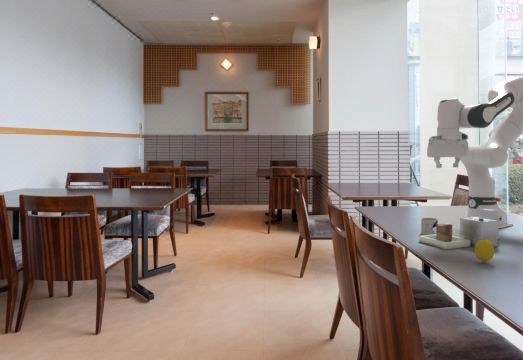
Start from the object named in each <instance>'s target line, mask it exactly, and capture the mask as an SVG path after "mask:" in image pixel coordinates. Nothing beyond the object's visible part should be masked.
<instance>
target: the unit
mask: <svg viewBox="0 0 523 360" xmlns="http://www.w3.org/2000/svg"><path fill="white" fill-rule="evenodd" d="M459 238H463V239H467V240H470V247H472V248H475V246H476V244H477V242H478V241H480V240H483V239H486V240H488V241H490V242H491V243H492V245H493V247H494V248H500V245H499V244H497V243H498V242H497V241H498V239H497V220H491V219H486V218H480V217H466V216H465V217H460V218H459Z"/></svg>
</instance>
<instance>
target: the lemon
mask: <svg viewBox="0 0 523 360" xmlns="http://www.w3.org/2000/svg"><path fill="white" fill-rule="evenodd" d="M494 248H495V247H493V245H492V243H491V242H490V241H488V240H486V239H483V240H480V241H478V242H477V244H476V246H475V247H474V254H475V257H476V258H477V260H480V261H481V262H482V263H483V264H485V263H486V262H489V261H490V260H492V259H493V257H494V255H495V249H494Z"/></svg>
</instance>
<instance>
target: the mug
mask: <svg viewBox="0 0 523 360" xmlns="http://www.w3.org/2000/svg"><path fill="white" fill-rule="evenodd" d="M438 222H439V220H438V218H435V217H421V225H420V229H421V230H420V232H421V233H420V234H421V235H422V236H423V235H433V234H436V228H437V224H439V223H438Z"/></svg>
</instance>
